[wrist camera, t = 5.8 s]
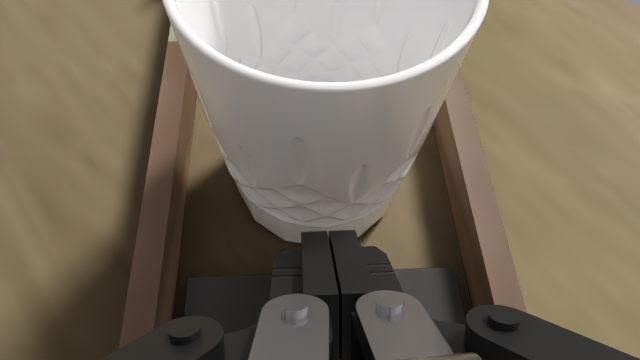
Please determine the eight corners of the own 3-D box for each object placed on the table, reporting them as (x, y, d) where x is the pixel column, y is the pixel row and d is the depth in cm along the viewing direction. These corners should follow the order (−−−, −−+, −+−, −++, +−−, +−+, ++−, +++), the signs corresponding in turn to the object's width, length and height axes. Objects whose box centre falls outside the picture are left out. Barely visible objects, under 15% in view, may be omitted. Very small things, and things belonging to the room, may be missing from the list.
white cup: (202, 244, 18) (104, 60, 9) (249, 92, 22) (211, -138, 13) (402, 276, 17) (496, 114, 9) (413, 115, 21) (486, -107, 13)
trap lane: (128, 435, 15) (90, 434, 12) (193, -32, 26) (180, -84, 24) (524, 412, 15) (569, 407, 13) (415, -34, 27) (427, -85, 24)
